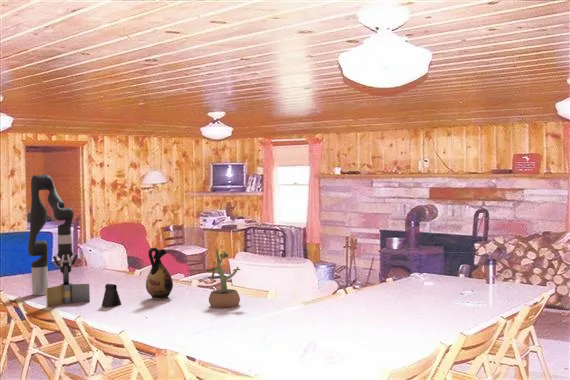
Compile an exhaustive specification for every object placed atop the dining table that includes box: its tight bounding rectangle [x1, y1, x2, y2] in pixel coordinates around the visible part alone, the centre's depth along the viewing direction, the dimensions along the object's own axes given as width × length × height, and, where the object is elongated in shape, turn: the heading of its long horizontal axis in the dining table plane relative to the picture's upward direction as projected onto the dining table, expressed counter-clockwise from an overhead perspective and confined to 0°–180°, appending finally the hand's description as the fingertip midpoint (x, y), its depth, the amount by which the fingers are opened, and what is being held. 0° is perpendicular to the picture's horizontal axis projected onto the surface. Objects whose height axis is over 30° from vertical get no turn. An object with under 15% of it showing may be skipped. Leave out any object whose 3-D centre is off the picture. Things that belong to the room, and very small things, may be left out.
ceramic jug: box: [145, 247, 174, 300], centre depth 363 cm, size 17×15×30 cm
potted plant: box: [205, 249, 242, 309], centre depth 342 cm, size 22×18×30 cm
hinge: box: [45, 282, 91, 308], centre depth 356 cm, size 10×23×10 cm, turn 118°
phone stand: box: [101, 283, 122, 309], centre depth 346 cm, size 9×6×12 cm, turn 146°
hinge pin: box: [62, 260, 70, 285], centre depth 358 cm, size 4×4×14 cm
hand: (65, 272), depth 358 cm, fingers closed on hinge pin, 3 cm apart
